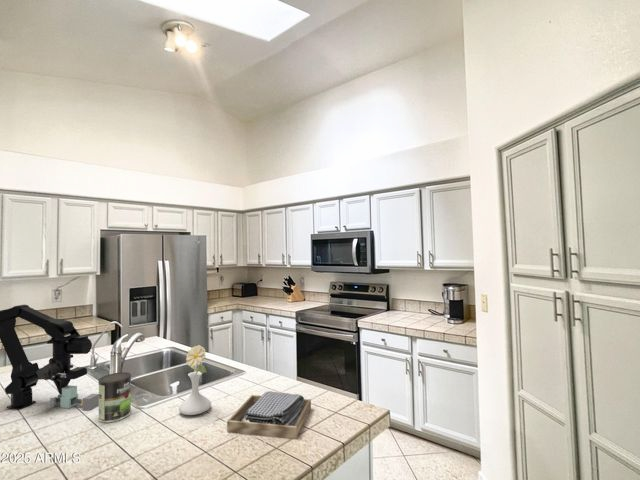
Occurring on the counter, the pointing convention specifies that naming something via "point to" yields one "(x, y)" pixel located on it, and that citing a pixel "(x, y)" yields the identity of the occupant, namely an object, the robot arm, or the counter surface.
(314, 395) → the counter surface
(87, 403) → the grey angular piece
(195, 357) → the flower in vase
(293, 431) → the linen tray frame
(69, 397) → the mint stepped block
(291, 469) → the counter surface
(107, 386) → the coffee can
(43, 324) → the robot arm
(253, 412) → the towel
